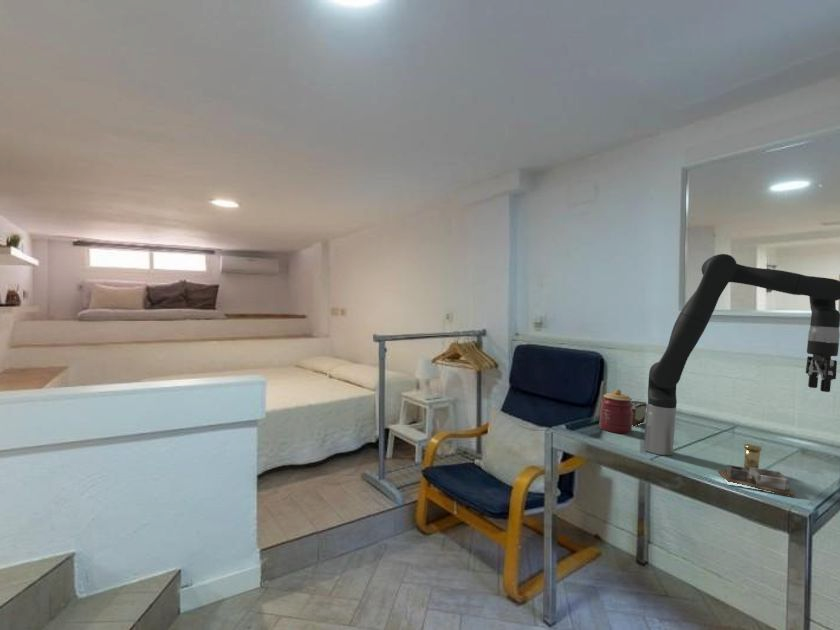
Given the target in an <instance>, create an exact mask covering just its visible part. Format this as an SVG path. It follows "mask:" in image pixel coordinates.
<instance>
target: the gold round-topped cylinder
mask: <svg viewBox="0 0 840 630" xmlns="http://www.w3.org/2000/svg"><path fill="white" fill-rule="evenodd" d="M743 445H744V446H743V447H744V457H743V459H744V460H743V461H744V462H743V468H744V469H745V470H746V471H749V470H750V467H753V468H759V467H760V456H761V455H760V454H761V451H762V446H759V445H756V444H750V443H745V444H743ZM759 469H760V468H759Z"/></svg>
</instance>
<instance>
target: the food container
mask: <svg viewBox="0 0 840 630" xmlns="http://www.w3.org/2000/svg"><path fill="white" fill-rule="evenodd" d="M631 403H632V404H633V405H634V406H633V407H632V412H633V414H632V425H633V426H632V427H634V426H636V425H638V424H640V423H643V422H644V423H645V420H646V413H647V407H648V403H647V402H645V401H639V400H638V401H637V400H631ZM636 427H637V426H636Z"/></svg>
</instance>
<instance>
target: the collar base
mask: <svg viewBox="0 0 840 630" xmlns="http://www.w3.org/2000/svg"><path fill="white" fill-rule="evenodd" d="M726 466H727V467H726V469H725V470H724V469H719V468H718V469H717V471H718V472H717V473H718V474H719V475H720V477H721V476H722V477H723V478H724V479H726V480H727V481H728V482H733V483H737V484H742V485H747V486H751V487H755V488H758V489H762V490H766V491H771V492H774V493H778V494H782V495H781V496H784V495H789V496H794V497H795V492H793V491H792V490H791V489H790V480H789V479H788V478H787V477H786V476H785V475H784V474H783V473H781V472H780V471H775V470H770V469H763V468H753V467H750V470H746V469H744V466H743V467H742V466H737V465H731V464H727V465H726ZM722 477H721V478H722ZM723 478H722V479H723ZM724 479H723V480H724ZM778 494H777V495H778ZM789 496H788V497H789Z"/></svg>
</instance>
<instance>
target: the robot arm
mask: <svg viewBox="0 0 840 630" xmlns="http://www.w3.org/2000/svg"><path fill="white" fill-rule="evenodd" d="M701 274H702V277H701V279H700V282H699V284H698V286H697V288H696V289H695V291H694V293H693V294H692V295H691V296H690V298H689V299H688V301H686V303H685V304H684V306H683V307H682V309H681V311H680V312H679V314H678V316H677V318H676V319H675V322H674V325H673V327H672V330H671V333H670V337H669V341H668V344H667V347H666V349H665V352H664V353H663V355H662V356H661V358H660V360H659V361H658V362H655V363H653V364H652V366H650V368H649V372H648V381H647V382H648V383H647V385H648V387H647V407H646V419H645V420H646V421H645V422H644V425H645V426H644V436H643V437H644V438H643V439H644V440H643V448H644V451H645V452H649V453H651V454H655V455H660V456H672V455H673V452H674V442H675V441H674V439H675V431H676V429H675V426H676V416H677V405H678V404H677V403H678V402H677V384H679V382H680V380H681V378H682V377H681V376H682V375H683V372H684V369H685V366H686V364H687V361H688V359H689V357H690V355H691V353H692V352H693V351H694V349H695V347H696V346H697V344H698V343H699V341H700V338H701V337H702V335H703V334H704V332H705V330H706V328H707V326H708V324H709V323H710V320H711V318H712V315H713V313H714V311H715V309H716V306H717V304H718V302H719V299H720V297H721V295H722V293H723V292H724V290H725V289H726V288H727V286H728V284H730V283H734V284H736V283H737V284H741V285H742V284H743V285H747V286H752V287H753V286H754V287H757V288H762V289H767V290H770V291H775V292H779V293H783V294H789V295H792V296H793V295H794V296H795V295H796V296H807V297H809V305H810V307H809V308H810V310H811V315H810V325H809V330H808V334H807V336H808V337H807V345H806V346H807V348H806V353H807V354H808V355H809V356H807V357H806V358H807V359H806V364H805V365H806V366H805V374H806V375H807V377H808V383H807V387H809V388H810V389H817V388H818V385H819V384H818V381H819V375H820V378H821V379H820V391H821V392H824V393H830V392H831V387H832V386H831V384H832V381H833V380H836V379H837V364H838V363H837V362H838V361H837V359H834V360H833V359H832V357H837V356H838V355H839V349H840V348H839V346H840V311H839V310H837V308H836V307H837V304H836V303H837V301H839V300H840V280H839V279H834V278H828V277H821V276H812V275H811V276H810V275H804V274H802V273H797V272H792V271H786V270H778V269H771V268H770V269H769V268H761V267H759V268H758V267H752V266H747V265H742V264H739V263H737V261H736V259H735V258H734V256H732V255H730V254H728V253H720V254H715V255H713V256H710V257H709V258H708V259H706V260H705V261H704V263H703V264H702V265H701ZM810 355H812V356H810Z"/></svg>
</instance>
